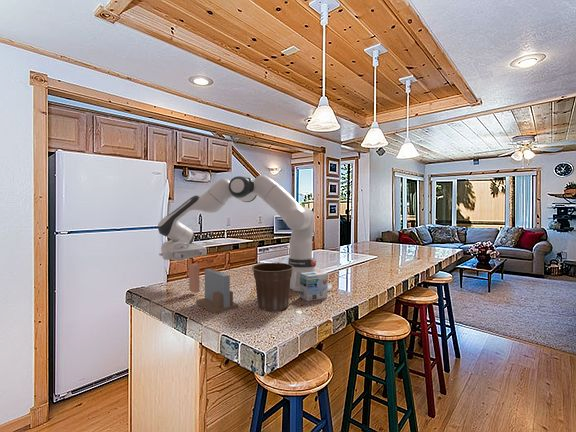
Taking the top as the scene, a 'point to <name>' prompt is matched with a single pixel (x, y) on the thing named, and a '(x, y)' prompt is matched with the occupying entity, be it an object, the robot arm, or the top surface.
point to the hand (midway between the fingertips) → (191, 254)
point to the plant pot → (272, 285)
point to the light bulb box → (313, 285)
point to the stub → (194, 277)
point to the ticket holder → (217, 292)
